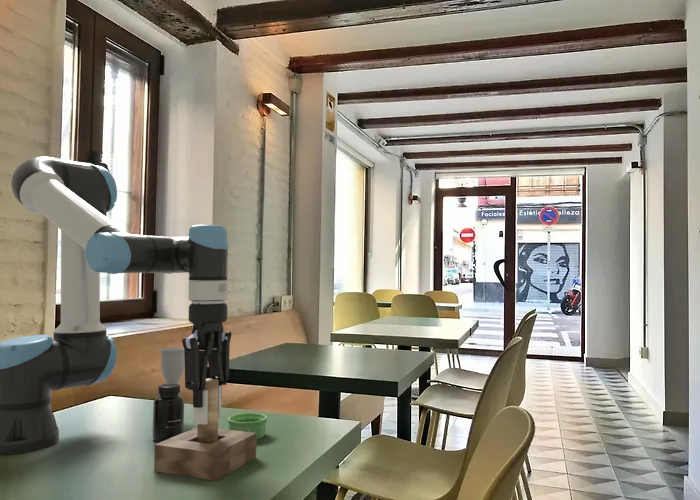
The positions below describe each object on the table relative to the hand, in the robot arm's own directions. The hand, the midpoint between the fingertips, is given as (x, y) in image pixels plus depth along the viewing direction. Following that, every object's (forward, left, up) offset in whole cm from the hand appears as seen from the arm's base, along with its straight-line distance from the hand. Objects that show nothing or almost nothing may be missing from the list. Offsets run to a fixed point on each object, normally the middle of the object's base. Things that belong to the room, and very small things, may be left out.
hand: (207, 420), depth 115 cm
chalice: (-29, +26, -9) cm, 40 cm away
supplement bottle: (-19, +12, -9) cm, 24 cm away
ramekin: (-3, +20, -9) cm, 22 cm away
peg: (0, 0, -4) cm, 4 cm away
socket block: (0, 0, -9) cm, 9 cm away
